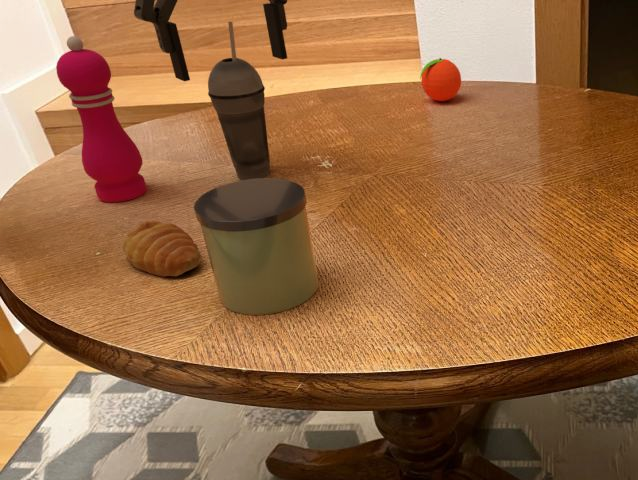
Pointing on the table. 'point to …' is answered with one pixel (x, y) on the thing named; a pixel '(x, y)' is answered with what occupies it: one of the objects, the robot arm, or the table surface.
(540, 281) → the table surface
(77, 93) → the pepper mill
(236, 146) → the beverage cup
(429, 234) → the table surface
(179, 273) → the pastry
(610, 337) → the table surface
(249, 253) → the jar
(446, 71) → the clementine
